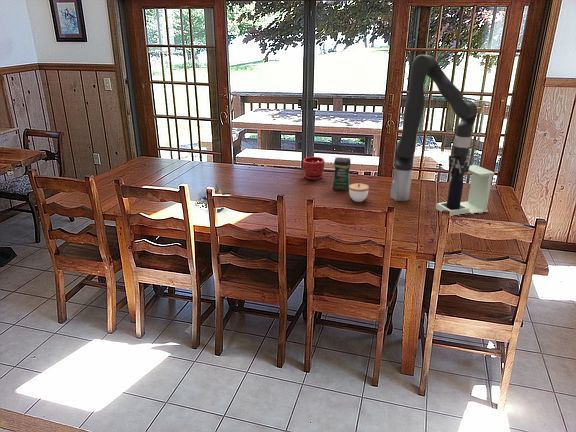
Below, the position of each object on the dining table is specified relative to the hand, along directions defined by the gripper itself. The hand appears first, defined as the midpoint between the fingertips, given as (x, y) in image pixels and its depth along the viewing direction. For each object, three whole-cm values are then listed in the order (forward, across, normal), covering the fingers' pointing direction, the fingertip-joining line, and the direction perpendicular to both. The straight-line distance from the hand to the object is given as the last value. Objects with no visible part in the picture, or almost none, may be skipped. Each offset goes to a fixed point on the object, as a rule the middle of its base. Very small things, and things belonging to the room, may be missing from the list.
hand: (456, 178), depth 226 cm
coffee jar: (+18, -51, -39) cm, 67 cm away
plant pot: (+18, -75, -47) cm, 90 cm away
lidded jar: (+18, -31, -38) cm, 52 cm away
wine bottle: (+17, 0, 0) cm, 17 cm away
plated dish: (+19, -56, -114) cm, 128 cm away
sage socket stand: (+18, 0, +5) cm, 19 cm away
